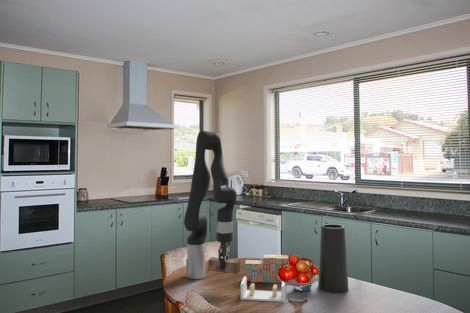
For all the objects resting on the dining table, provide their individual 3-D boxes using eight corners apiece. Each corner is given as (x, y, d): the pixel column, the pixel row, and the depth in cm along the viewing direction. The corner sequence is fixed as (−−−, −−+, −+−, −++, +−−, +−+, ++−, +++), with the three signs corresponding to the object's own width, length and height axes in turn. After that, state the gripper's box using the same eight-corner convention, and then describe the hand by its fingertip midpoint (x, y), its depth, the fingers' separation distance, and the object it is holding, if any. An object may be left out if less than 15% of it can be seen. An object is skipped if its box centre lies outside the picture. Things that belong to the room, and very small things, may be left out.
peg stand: (240, 299, 163) (240, 283, 163) (244, 291, 173) (243, 276, 173) (284, 302, 160) (284, 286, 160) (285, 293, 170) (285, 278, 170)
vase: (353, 287, 177) (353, 225, 177) (339, 295, 167) (339, 230, 167) (327, 281, 186) (326, 222, 186) (312, 288, 176) (312, 226, 176)
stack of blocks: (244, 282, 186) (244, 257, 186) (245, 278, 192) (245, 254, 192) (288, 283, 184) (288, 258, 184) (288, 279, 190) (288, 254, 190)
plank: (208, 270, 175) (208, 259, 175) (212, 267, 179) (212, 257, 179) (236, 274, 170) (236, 263, 170) (240, 271, 174) (240, 260, 174)
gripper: (220, 227, 182) (219, 262, 182) (212, 233, 168) (212, 271, 168) (235, 228, 180) (235, 263, 181) (229, 234, 166) (228, 273, 167)
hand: (224, 267), depth 174 cm, fingers closed on plank, 4 cm apart
